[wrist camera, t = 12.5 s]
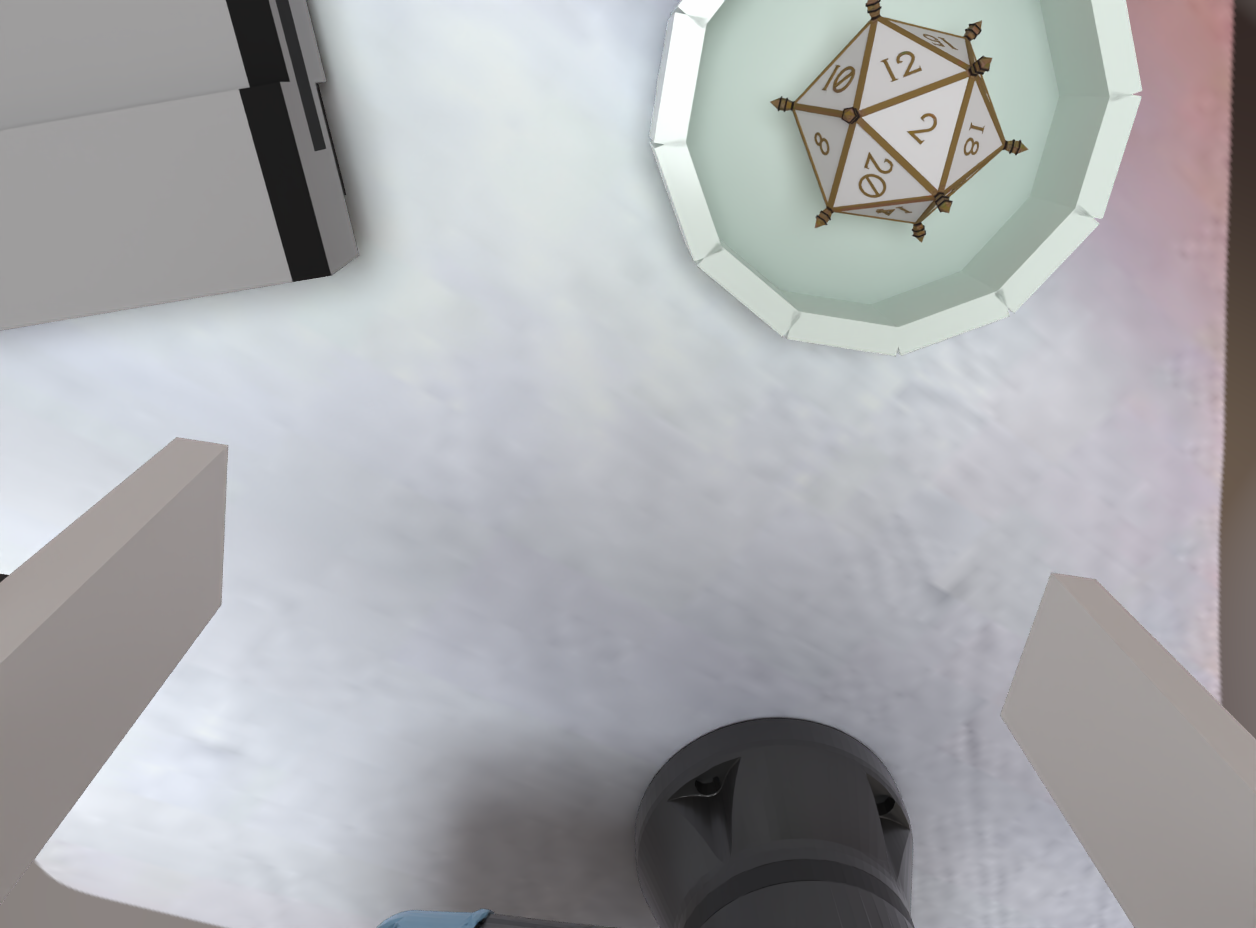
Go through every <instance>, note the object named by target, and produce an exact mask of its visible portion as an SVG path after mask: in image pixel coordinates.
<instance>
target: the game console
mask: <svg viewBox="0 0 1256 928" xmlns="http://www.w3.org/2000/svg"><path fill="white" fill-rule="evenodd" d="M323 82H326V78H325V74H324V70H323V66H322V62H321V58H320V54H319V50H318V46H317V42H316V38H315V34H314V30H313V26H312V22H311V18H310V14H309V10H308V6H307V2H306V0H0V331H1V330H7V329H13V328H19V327H25V326H31V325H37V324H43V323H49V322H55V321H61V320H67V319H73V318H79V317H85V316H91V315H97V314H103V313H109V312H115V311H121V310H127V309H133V308H139V307H145V306H151V305H157V304H163V303H169V302H175V301H181V300H187V299H193V298H199V297H205V296H211V295H217V294H223V293H229V292H235V291H241V290H247V289H253V288H259V287H265V286H271V285H277V284H283V283H289V282H295V281H301V280H307V279H313V278H319V277H325V276H331V275H333V274H334V273H336V272H337V271H338V270H340V269H341V268H343V267H344V266H345V265H347V264H348V263H350V262H351V261H352V260H354V259H355V258H357V257H358V256H359V253H358V249H357V245H356V241H355V238H354V234H353V230H352V226H351V222H350V218H349V214H348V210H347V206H346V202H345V198H344V195H346V193H345V189H344V185H343V181H342V177H341V173H340V169H339V165H338V161H337V157H336V153H335V149H334V145H333V141H332V137H331V133H330V129H329V126H328V122H327V118H326V114H325V110H324V106H323V102H322V98H321V94H320V90H319V86H318V83H323Z"/></svg>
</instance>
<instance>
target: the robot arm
mask: <svg viewBox="0 0 1256 928" xmlns="http://www.w3.org/2000/svg"><path fill="white" fill-rule="evenodd" d="M227 461H228V445H223V444H217V443H210V442H204V441H197V440H191V439H184V438H178V437H176V438H175V439H174V440H173V441H171V442H170V443H169V444H168V445H167V446H165V447H164V448H163V449H162V450H160V451H159V452H158V453H157V454H156V455H154V456H153V457H152V458H151V459H150V460H148V461H147V462H146V463H145V464H143V465H142V466H141V467H140V468H139V469H137V470H136V471H135V472H134V473H133V474H131V475H130V476H129V477H128V478H126V479H125V480H124V481H123V482H122V483H120V484H119V485H118V486H117V487H116V488H114V489H113V490H112V491H111V492H109V493H108V494H107V495H106V496H105V497H103V498H102V499H101V500H100V501H99V502H97V503H96V504H95V505H94V506H93V507H91V508H90V509H89V510H88V511H86V512H85V513H84V514H83V515H82V516H80V517H79V518H78V519H77V520H76V521H74V522H73V523H72V524H71V525H69V526H68V527H67V528H66V529H65V530H63V531H62V532H61V533H60V534H59V535H57V536H56V537H55V538H54V539H52V540H51V541H50V542H49V543H48V544H46V545H45V546H44V547H43V548H42V549H40V550H39V551H38V552H37V553H35V554H34V555H33V556H32V557H31V558H29V559H28V560H27V561H26V562H25V563H23V564H22V565H21V566H20V567H18V568H17V569H16V570H15V571H14V572H12V573H11V574H10V575H5V574H0V905H1V904H2V902H3V901H4V900H5V898H6V897H7V896H8V894H9V893H10V891H11V890H12V889H13V887H14V886H15V885H16V883H17V882H18V881H19V879H20V878H21V877H22V875H23V874H24V873H25V871H26V870H27V868H28V867H29V866H30V864H31V863H32V862H33V860H34V859H35V858H36V856H37V855H38V853H39V852H40V851H41V849H42V848H43V847H44V845H45V844H46V843H47V841H48V840H49V839H50V837H51V836H52V834H53V833H54V832H55V830H56V829H57V828H58V826H59V825H60V824H61V822H62V821H63V819H64V818H65V817H66V815H67V814H68V813H69V811H70V810H71V809H72V807H73V806H74V805H75V803H76V802H77V800H78V799H79V798H80V796H81V795H82V794H83V792H84V791H85V790H86V788H87V787H88V785H89V784H90V783H91V781H92V780H93V779H94V777H95V776H96V775H97V773H98V772H99V771H100V769H101V768H102V766H103V765H104V764H105V762H106V761H107V760H108V758H109V757H110V756H111V754H112V753H113V751H114V750H115V749H116V747H117V746H118V745H119V743H120V742H121V741H122V739H123V738H124V737H125V735H126V734H127V732H128V731H129V730H130V728H131V727H132V726H133V724H134V723H135V722H136V720H137V719H138V717H139V716H140V715H141V713H142V712H143V711H144V709H145V708H146V707H147V705H148V704H149V703H150V701H151V700H152V698H153V697H154V696H155V694H156V693H157V692H158V690H159V689H160V688H161V686H162V685H163V683H164V682H165V681H166V679H167V678H168V677H169V675H170V674H171V673H172V671H173V670H174V669H175V667H176V666H177V664H178V663H179V662H180V660H181V659H182V658H183V656H184V655H185V654H186V652H187V651H188V649H189V648H190V647H191V645H192V644H193V643H194V641H195V640H196V639H197V637H198V636H199V635H200V633H201V632H202V630H203V629H204V628H205V626H206V625H207V624H208V622H209V621H210V620H211V618H212V617H213V615H214V614H215V613H216V611H217V610H218V609H219V607H220V606H221V602H222V578H223V555H224V531H225V508H226V484H227ZM1000 716H1001V717H1002V719H1003V721H1004V722H1005V724H1006V725H1007V727H1008V728H1009V730H1010V732H1011V733H1012V735H1013V736H1014V738H1015V740H1016V741H1017V743H1018V744H1019V746H1020V747H1021V749H1022V751H1023V752H1024V754H1025V755H1026V757H1027V759H1028V760H1029V762H1030V763H1031V765H1032V766H1033V768H1034V770H1035V771H1036V773H1037V774H1038V776H1039V778H1040V779H1041V781H1042V782H1043V784H1044V785H1045V787H1046V789H1047V790H1048V792H1049V793H1050V795H1051V797H1052V798H1053V800H1054V801H1055V803H1056V804H1057V806H1058V808H1059V809H1060V811H1061V812H1062V814H1063V816H1064V817H1065V819H1066V820H1067V822H1068V823H1069V825H1070V827H1071V828H1072V830H1073V831H1074V833H1075V835H1076V836H1077V838H1078V839H1079V841H1080V842H1081V844H1082V846H1083V847H1084V849H1085V850H1086V852H1087V854H1088V855H1089V857H1090V858H1091V860H1092V861H1093V863H1094V865H1095V866H1096V868H1097V869H1098V871H1099V873H1100V874H1101V876H1102V877H1103V879H1104V880H1105V882H1106V884H1107V885H1108V887H1109V888H1110V890H1111V892H1112V893H1113V895H1114V896H1115V898H1116V899H1117V901H1118V903H1119V904H1120V906H1121V907H1122V909H1123V910H1124V912H1125V914H1126V915H1127V917H1128V918H1129V920H1130V922H1131V923H1132V925H1133V926H1134V928H1256V739H1255V738H1254V737H1253V736H1252V735H1251V734H1250V733H1249V732H1248V731H1246V729H1245V728H1244V727H1243V726H1242V725H1241V724H1240V723H1239V722H1238V721H1237V720H1236V719H1235V718H1234V717H1233V716H1232V715H1231V714H1230V713H1229V712H1228V711H1227V710H1226V709H1225V708H1224V707H1223V706H1222V705H1221V704H1220V703H1219V702H1218V701H1217V700H1216V699H1215V698H1214V697H1213V696H1212V695H1211V694H1210V693H1209V692H1208V691H1207V690H1206V689H1205V688H1204V687H1203V686H1202V685H1201V684H1200V683H1199V682H1198V681H1197V680H1196V679H1195V678H1194V677H1193V676H1192V675H1191V674H1190V673H1189V672H1188V671H1187V670H1186V669H1185V668H1184V667H1183V666H1182V665H1181V664H1180V663H1179V662H1178V661H1177V660H1176V659H1175V658H1174V657H1173V656H1172V655H1171V654H1170V653H1169V652H1168V651H1167V650H1166V649H1165V648H1164V647H1163V646H1162V645H1161V644H1160V643H1159V642H1158V641H1157V640H1156V639H1155V638H1154V637H1153V636H1152V635H1151V634H1150V633H1149V632H1148V631H1147V630H1146V629H1145V628H1144V627H1143V626H1142V625H1141V624H1140V623H1139V622H1138V621H1137V620H1136V619H1135V618H1134V617H1133V616H1132V615H1131V614H1130V613H1129V612H1128V611H1127V610H1126V609H1125V608H1124V607H1123V606H1122V605H1121V604H1120V603H1119V602H1118V601H1117V600H1116V599H1115V598H1114V597H1113V596H1112V595H1111V594H1110V593H1109V592H1108V591H1107V590H1106V589H1105V588H1104V587H1103V586H1102V585H1101V584H1100V583H1099V582H1098V581H1097V580H1096V579H1089V578H1083V577H1076V576H1070V575H1064V574H1057V573H1051V575H1050V577H1049V580H1048V583H1047V586H1046V589H1045V591H1044V594H1043V597H1042V600H1041V602H1040V605H1039V608H1038V611H1037V614H1036V616H1035V619H1034V622H1033V625H1032V627H1031V630H1030V633H1029V636H1028V639H1027V641H1026V644H1025V647H1024V650H1023V653H1022V655H1021V658H1020V661H1019V664H1018V666H1017V669H1016V672H1015V675H1014V678H1013V680H1012V683H1011V686H1010V689H1009V692H1008V694H1007V697H1006V700H1005V703H1004V705H1003V708H1002V711H1001V714H1000ZM635 844H636V865H637V873H638V877H639V882H640V885H641V889H642V892H643V894H644V897H645V899H646V901H647V903H648V905H649V907H650V909H651V911H652V913H653V915H654V917H655V919H656V921H657V923H658V925H659V927H660V928H914V925H913V923H912V919H911V890H912V865H913V837H912V831H911V825H910V820H909V817H908V814H907V811H906V808H905V806H904V804H903V801H902V799H901V796H900V794H899V791H898V789H897V787H896V784H895V782H894V780H893V778H892V776H891V775H890V773H889V771H888V770H887V768H886V767H885V766H884V764H883V763H882V762H881V761H880V760H879V759H878V758H877V756H876V755H875V754H873V753H872V752H871V751H870V750H869V749H868V748H867V747H865V746H864V745H863V744H861V743H860V742H858V741H857V740H855V739H854V738H852V737H850V736H848V735H846V734H844V733H842V732H840V731H838V730H835V729H833V728H830V727H827V726H824V725H821V724H817V723H813V722H808V721H802V720H793V719H763V720H754V721H748V722H743V723H739V724H735V725H732V726H728V727H725V728H722V729H720V730H717V731H714V732H712V733H710V734H708V735H706V736H704V737H702V738H700V739H698V740H696V741H695V742H693V743H691V744H690V745H688V746H687V747H685V748H684V749H682V750H681V751H680V752H679V753H677V754H676V755H675V756H674V757H673V758H672V759H671V760H669V761H668V762H667V763H666V764H665V765H664V767H663V768H662V769H661V770H660V771H659V772H658V774H657V775H656V776H655V777H654V779H653V780H652V782H651V784H650V785H649V787H648V789H647V790H646V792H645V794H644V797H643V799H642V801H641V804H640V807H639V810H638V814H637V819H636V827H635ZM377 928H615V927H605V926H595V925H585V924H575V923H565V922H555V921H547V920H539V919H531V918H523V917H514V916H506V915H498V914H494V912H493V911H491V910H487V909H480V910H478V911H476V912H474V913H470V912H438V911H422V910H411V911H405V912H401V913H398V914H396V915H393V916H391V917H390V918H388V919H386V920H385V921H383V922H382V923H381V924H380V925H379V926H378V927H377Z"/></svg>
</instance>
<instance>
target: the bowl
mask: <svg viewBox="0 0 1256 928" xmlns="http://www.w3.org/2000/svg"><path fill="white" fill-rule="evenodd" d="M867 1H868V0H681V1H680V2H679V3H678V4H677V6H676V7H675V8H674V10H673V11H672V12H671V14H670V15H671V17H670V18H669V19H668V22H667V28H666V34H665V40H664V46H663V52H662V59H661V64H660V68H659V72H658V77H657V84H656V94H655V102H654V108H653V114H652V120H651V126H650V133H649V137H650V139H651V140H652V141H650V145H651V148H652V151H653V154H654V157H655V159H656V162H657V165H658V168H659V171H660V174H661V176H662V179H663V182H664V185H665V188H666V192H667V194H668V197H669V199H670V202H671V205H672V207H673V210H674V213H675V216H676V219H677V222H678V224H679V227H680V230H681V233H682V236H683V239H684V241H685V244H686V246H687V248H688V250H689V252H690V254H691V256H692V258H693V260H694V262H696V264H697V266H698V267H699V268H700V269H701V270H703V271H704V272H705V273H706V274H707V275H709V276H710V277H711V278H712V279H713V280H715V281H716V282H717V283H718V284H719V285H721V286H722V287H723V288H724V289H725V290H727V291H728V292H729V293H730V294H731V295H733V296H734V297H735V298H736V299H737V300H739V301H740V302H741V303H742V304H743V305H745V306H746V307H747V308H748V309H749V310H750V311H752V312H753V313H754V314H755V315H756V316H758V317H759V318H760V319H761V320H762V321H764V322H765V323H766V324H767V325H768V326H770V327H771V328H772V329H773V330H774V331H776V332H777V333H778V334H779V335H780V336H782V337H783V336H785V337H786V338H787V339H788V340H795V341H801V342H807V343H814V344H820V345H827V346H833V347H839V348H846V349H852V350H859V351H865V352H871V353H878V354H884V355H891V356H896V353H898V354H900V355H901V356H902V355H904V354H907V353H910V352H913V351H915V350H918V349H921V348H924V347H926V346H929V345H932V344H935V343H937V342H940V341H943V340H946V339H948V338H951V337H954V336H957V335H960V334H962V333H965V332H968V331H971V330H973V329H976V328H979V327H982V326H984V325H987V324H990V323H993V322H995V321H998V320H1001V319H1004V318H1006V317H1009V312H1008V310H1009V311H1011V312H1013V313H1015V312H1016V311H1017V310H1018V309H1019V308H1020V307H1021V306H1022V305H1023V304H1024V302H1025V301H1026V300H1027V299H1028V298H1029V297H1030V296H1031V295H1032V294H1033V293H1034V292H1035V291H1036V290H1037V289H1038V288H1039V287H1040V286H1041V285H1042V284H1043V283H1044V282H1045V280H1046V279H1047V278H1048V277H1049V276H1050V275H1051V274H1052V273H1053V272H1054V271H1055V270H1056V269H1057V268H1058V267H1059V266H1060V265H1061V264H1062V263H1063V262H1064V261H1065V259H1066V258H1067V257H1068V256H1069V255H1070V254H1071V253H1072V252H1073V251H1074V250H1075V249H1076V248H1077V247H1078V246H1079V245H1080V244H1081V243H1082V242H1083V241H1084V240H1085V239H1086V237H1087V236H1088V235H1089V234H1090V233H1091V232H1092V231H1093V230H1094V229H1095V228H1096V227H1097V226H1098V225H1099V223H1098V222H1097V221H1096V220H1095V219H1094V218H1100V219H1103V216H1104V212H1105V209H1106V206H1107V203H1108V200H1109V197H1110V194H1111V191H1112V187H1113V184H1114V181H1115V178H1116V175H1117V172H1118V169H1119V166H1120V163H1121V159H1122V156H1123V153H1124V150H1125V147H1126V144H1127V141H1128V138H1129V135H1130V131H1131V128H1132V125H1133V122H1134V119H1135V116H1136V113H1137V110H1138V106H1139V103H1140V100H1141V96H1136V95H1132V94H1134V93H1137V92H1140V91H1142V87H1141V82H1140V76H1139V71H1138V65H1137V60H1136V54H1135V49H1134V43H1133V38H1132V32H1131V27H1130V21H1129V16H1128V10H1127V5H1126V0H881V1H880V6H882V8H881V9H880V15H881V16H882V17H886V18H890V19H894V20H898V21H902V22H906V23H910V24H914V25H918V26H922V27H926V28H930V29H934V30H938V31H943V32H947V33H951V34H955V35H959V36H964V34H965V29H968V27H969V24H973V23H976V22H979V21H981V20H982V25H981V30H982V31H981V33H980V34H979V35H977V37H976V39H975V40H974V39H973V40H971V41H970V42H971V45H972V48H973V51H974V53H975V56H976V59H977V60H978V59H979V58H981V57H982V56H983V55H984V56H985V57H990V58H992V61H991V63H990V69H989V71H988V72H987V71H985V72H984V74H983V75H982V76H983V79H984V81H985V84H986V87H987V90H988V93H989V95H990V98H991V101H992V104H993V107H994V109H995V112H996V115H997V118H998V121H999V123H1000V126H1001V129H1002V132H1003V135H1004V137H1005V140H1006V141H1012V140H1013V139H1015V141H1019V140H1021V142H1022V143H1023V144H1024V145H1025V146H1026V147H1027V148H1028V149H1029V150H1026V151H1024V152H1021V153H1019V154H1017V155H1015V154H1014V153H1011V154H1009V152H1008V151H1006V150H1002V151H1001V152H1000V153H999V154H998V155H996V156H995V157H994V158H993V159H992V160H991V161H990V162H989V163H987V164H986V165H985V166H984V167H983V168H982V169H981V170H980V171H978V172H977V173H976V174H975V175H974V176H973V177H972V178H971V179H969V180H968V181H967V182H966V183H965V184H964V185H963V186H962V187H960V188H959V189H958V190H957V191H956V192H955V193H954V194H953V195H951V196H950V198H949V200H951V201H953V202H952V205H951V207H950V212H949V213H945V212H941V213H940V211H939V209H938V208H937V209H936V210H935V211H933V212H932V213H931V214H930V215H929V216H928V217H927V218H926V219H924V220H923V221H922V222H921V223H922V224H923V225H924V226H925V230H926V235H925V236H924V238H923V241H922V243H921V242H920V241H919V240H918V239H917V238H916V237H913V236H912V235H913V231H912V229H913V224H911V223H904V222H897V221H890V220H883V219H876V218H870V217H863V216H856V215H849V214H842V213H835V212H834V213H833V214H832V215H831V220H829V221H828V222H827V224H828V225H823V226H820V227H818V228H815V223H816V216H817V215H819V214H820V211H821V210H822V211H823V210H824V209H826V204H825V202H824V199H823V196H822V193H821V190H820V188H819V185H818V182H817V179H816V176H815V174H814V171H813V168H812V165H811V162H810V160H809V157H808V154H807V151H806V148H805V145H804V143H803V140H802V137H801V134H800V131H799V129H798V126H797V123H796V120H795V117H794V115H793V112H792V111H791V110H788V111H785V112H784V111H782V110H779V111H778V109H777V108H776V107H774V106H773V105H772V104H771V103H770V102H771V101H773V100H775V99H778V98H780V97H781V96H782V98H788V99H789V100H791V101H795V100H796V99H797V98H798V97H799V96H800V95H801V94H802V93H803V92H804V91H805V90H806V88H807V87H808V86H809V85H810V84H811V83H812V82H813V81H814V80H815V79H816V78H817V77H818V75H819V74H820V73H821V72H822V71H823V70H824V69H825V68H826V67H827V66H828V65H829V64H830V63H831V61H832V60H833V59H834V58H835V57H836V56H837V55H838V54H839V53H840V52H841V51H842V50H843V48H844V47H845V46H846V45H847V44H848V43H849V42H850V41H851V40H852V39H853V38H854V37H855V35H856V34H857V33H858V32H859V31H860V30H861V29H862V28H863V27H864V26H865V25H866V24H867V23H868V21H869V20H870V19H871V16H870V15H869V13H867V10H868V9H867V7H866V6H865V5H866V3H867ZM1093 217H1094V218H1093Z"/></svg>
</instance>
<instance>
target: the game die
mask: <svg viewBox="0 0 1256 928" xmlns="http://www.w3.org/2000/svg"><path fill="white" fill-rule="evenodd" d="M880 1H881V0H868V1H867V3H866V5H865V6H866V7H867V9H868V10H867V13H869V15H870V16H871V19H870V20H869V21H868V23H867V24H866V25H865V26H864V27H863V28H862V29H861V30H860V31H859V32H858V33H857V34H856V35H855V37H854V38H853V39H852V40H851V41H850V42H849V43H848V44H847V45H846V46H845V47H844V48H843V50H842V51H841V52H840V53H839V54H838V55H837V56H836V57H835V58H834V59H833V60H832V61H831V63H830V64H829V65H828V66H827V67H826V68H825V69H824V70H823V71H822V72H821V73H820V74H819V75H818V77H817V78H816V79H815V80H814V81H813V82H812V83H811V84H810V85H809V86H808V87H807V88H806V90H805V91H804V92H803V93H802V94H801V95H800V96H799V97H798V98H797V99H796V100H795V101H791V100H789V99H788V98H782V96H781V97H780V98H778V99H775V100H773V101H771V102H770V103H771V104H772V105H773V106H774V107H776V108H777V109H778V111H779V110H782V111H784V112H785V111H788V110H791V111H792V112H793V115H794V117H795V120H796V123H797V126H798V129H799V131H800V134H801V137H802V140H803V143H804V145H805V148H806V151H807V154H808V157H809V160H810V162H811V165H812V168H813V171H814V174H815V176H816V179H817V182H818V185H819V188H820V190H821V193H822V196H823V199H824V202H825V204H826V209H824V210H823V211H822V210H821V211H820V214H819V215H817V216H816V223H815V228H818V227H820V226H823V225H828V224H827V222H828V221H829V220H831V215H832V214H833V213H834V212H835V213H842V214H849V215H856V216H863V217H870V218H876V219H883V220H890V221H897V222H904V223H911V224H913V229H912V231H913V235H912V236H913V237H916V238H917V239H918V240H919V241H920V242H921V243H922V241H923V238H924V236H925V235H926V230H925V226H924V225H923V224H922V223H921V222H922V221H923V220H924V219H926V218H927V217H928V216H929V215H930V214H931V213H932V212H933V211H935V210H936V209H937V208H938V209H939V211H940V213H941V212H945V213H949V212H950V207H951V205H952V202H953V201H951V200H949V198H950V196H951V195H953V194H954V193H955V192H956V191H957V190H958V189H959V188H960V187H962V186H963V185H964V184H965V183H966V182H967V181H968V180H969V179H971V178H972V177H973V176H974V175H975V174H976V173H977V172H978V171H980V170H981V169H982V168H983V167H984V166H985V165H986V164H987V163H989V162H990V161H991V160H992V159H993V158H994V157H995V156H996V155H998V154H999V153H1000V152H1001V151H1002V150H1006V151H1008V152H1009V154H1011V153H1014V154H1015V155H1017V154H1019V153H1021V152H1024V151H1026V150H1029V149H1028V148H1027V147H1026V146H1025V145H1024V144H1023V143H1022V142H1021V140H1019V141H1015V139H1013V140H1012V141H1006V140H1005V137H1004V135H1003V132H1002V129H1001V126H1000V123H999V121H998V118H997V115H996V112H995V109H994V107H993V104H992V101H991V98H990V95H989V93H988V90H987V87H986V84H985V81H984V79H983V76H982V75H983V74H984V72H985V71H987V72H988V71H989V69H990V63H991V61H992V58H990V57H985V56H984V55H983V56H982V57H981V58H979V59H978V60H977V59H976V56H975V53H974V51H973V48H972V45H971V42H970V41H971V40H973V39H974V40H975V39H976V37H977V35H979V34H980V33H981V31H982V30H981V25H982V20H981V21H979V22H976V23H973V24H969V27H968V29H965V34H964V36H959V35H955V34H951V33H947V32H943V31H938V30H934V29H930V28H926V27H922V26H918V25H914V24H910V23H906V22H902V21H898V20H894V19H890V18H886V17H882V16H881V15H880V9H881V8H882V6H880Z"/></svg>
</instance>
